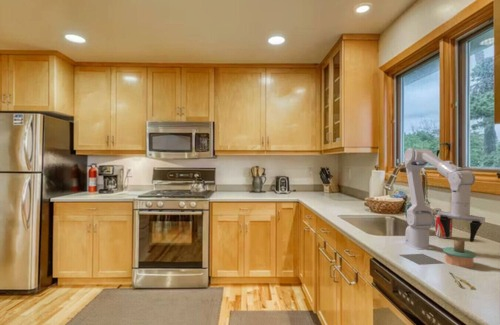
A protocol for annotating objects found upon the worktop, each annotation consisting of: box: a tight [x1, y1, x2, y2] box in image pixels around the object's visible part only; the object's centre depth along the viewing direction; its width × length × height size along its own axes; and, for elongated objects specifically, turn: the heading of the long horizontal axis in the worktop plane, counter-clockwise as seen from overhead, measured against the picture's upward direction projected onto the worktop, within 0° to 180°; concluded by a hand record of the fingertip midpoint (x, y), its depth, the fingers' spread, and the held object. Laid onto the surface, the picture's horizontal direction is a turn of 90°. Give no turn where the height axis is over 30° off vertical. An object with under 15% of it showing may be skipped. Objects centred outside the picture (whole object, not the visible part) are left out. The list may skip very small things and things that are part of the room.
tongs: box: [448, 272, 476, 290], centre depth 95 cm, size 4×13×2 cm, turn 172°
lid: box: [442, 239, 477, 258], centre depth 111 cm, size 10×10×5 cm
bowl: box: [444, 253, 475, 268], centre depth 111 cm, size 8×8×4 cm
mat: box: [399, 253, 444, 266], centre depth 115 cm, size 11×11×1 cm
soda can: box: [435, 215, 453, 239], centre depth 151 cm, size 7×7×12 cm
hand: (459, 239), depth 111 cm, fingers open, 7 cm apart
